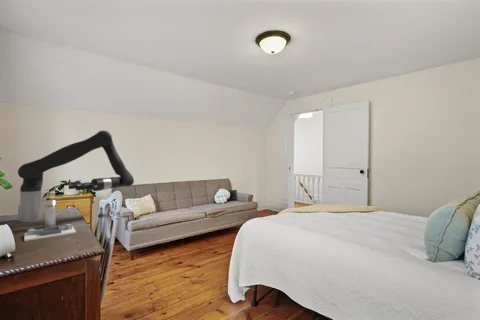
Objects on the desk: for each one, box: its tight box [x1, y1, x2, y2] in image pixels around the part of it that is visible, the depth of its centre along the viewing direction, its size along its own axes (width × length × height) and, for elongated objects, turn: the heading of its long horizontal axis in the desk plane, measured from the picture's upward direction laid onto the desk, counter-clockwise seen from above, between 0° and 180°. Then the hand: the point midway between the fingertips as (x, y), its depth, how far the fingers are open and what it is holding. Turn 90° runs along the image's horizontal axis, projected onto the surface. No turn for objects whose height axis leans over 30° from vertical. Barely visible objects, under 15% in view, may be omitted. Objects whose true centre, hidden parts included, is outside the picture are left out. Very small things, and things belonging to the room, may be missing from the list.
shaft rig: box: [23, 223, 77, 242], centre depth 118 cm, size 19×11×3 cm, turn 131°
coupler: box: [44, 199, 57, 228], centre depth 129 cm, size 5×5×14 cm
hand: (72, 187), depth 138 cm, fingers open, 8 cm apart
